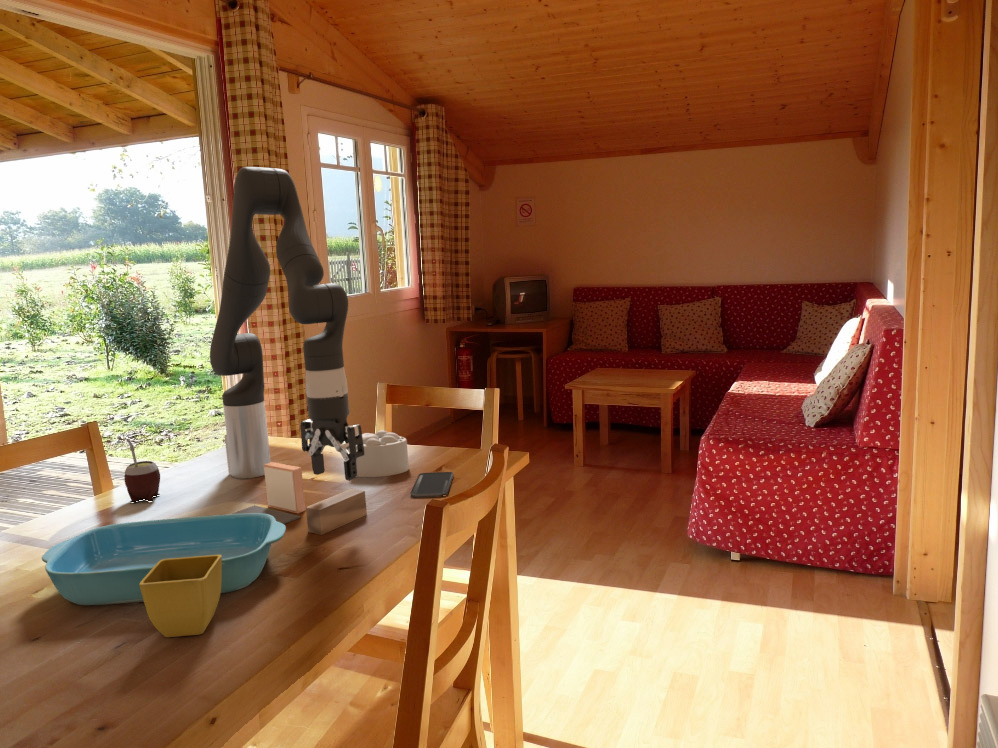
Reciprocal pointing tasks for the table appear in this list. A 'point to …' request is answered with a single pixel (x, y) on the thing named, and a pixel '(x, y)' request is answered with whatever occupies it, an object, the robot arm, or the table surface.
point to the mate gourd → (141, 478)
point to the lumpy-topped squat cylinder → (382, 455)
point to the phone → (432, 484)
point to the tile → (284, 487)
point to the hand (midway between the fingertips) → (335, 476)
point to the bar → (336, 511)
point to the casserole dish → (158, 554)
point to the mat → (270, 513)
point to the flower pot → (182, 594)
